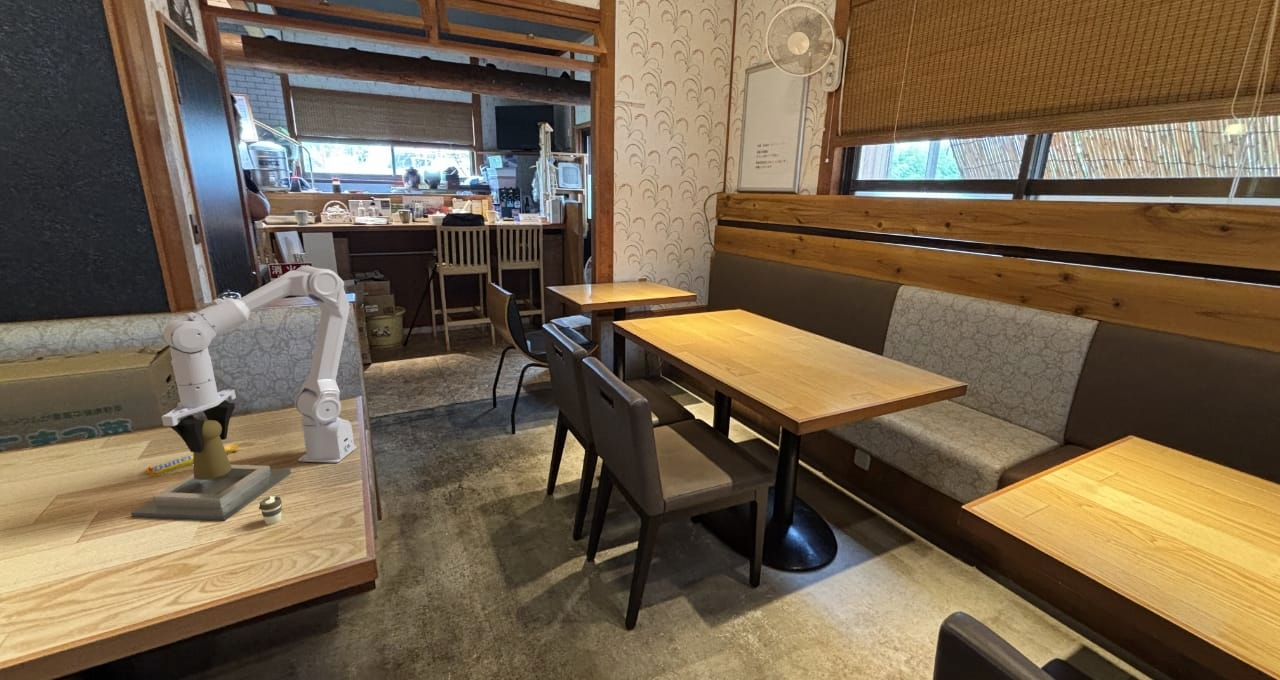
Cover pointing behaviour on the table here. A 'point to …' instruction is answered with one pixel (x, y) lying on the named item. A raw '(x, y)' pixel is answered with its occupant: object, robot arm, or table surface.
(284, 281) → the robot arm
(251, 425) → the table surface
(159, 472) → the candy bar
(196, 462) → the brown rounded piece
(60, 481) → the table surface
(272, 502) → the coffee cup
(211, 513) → the socket board
